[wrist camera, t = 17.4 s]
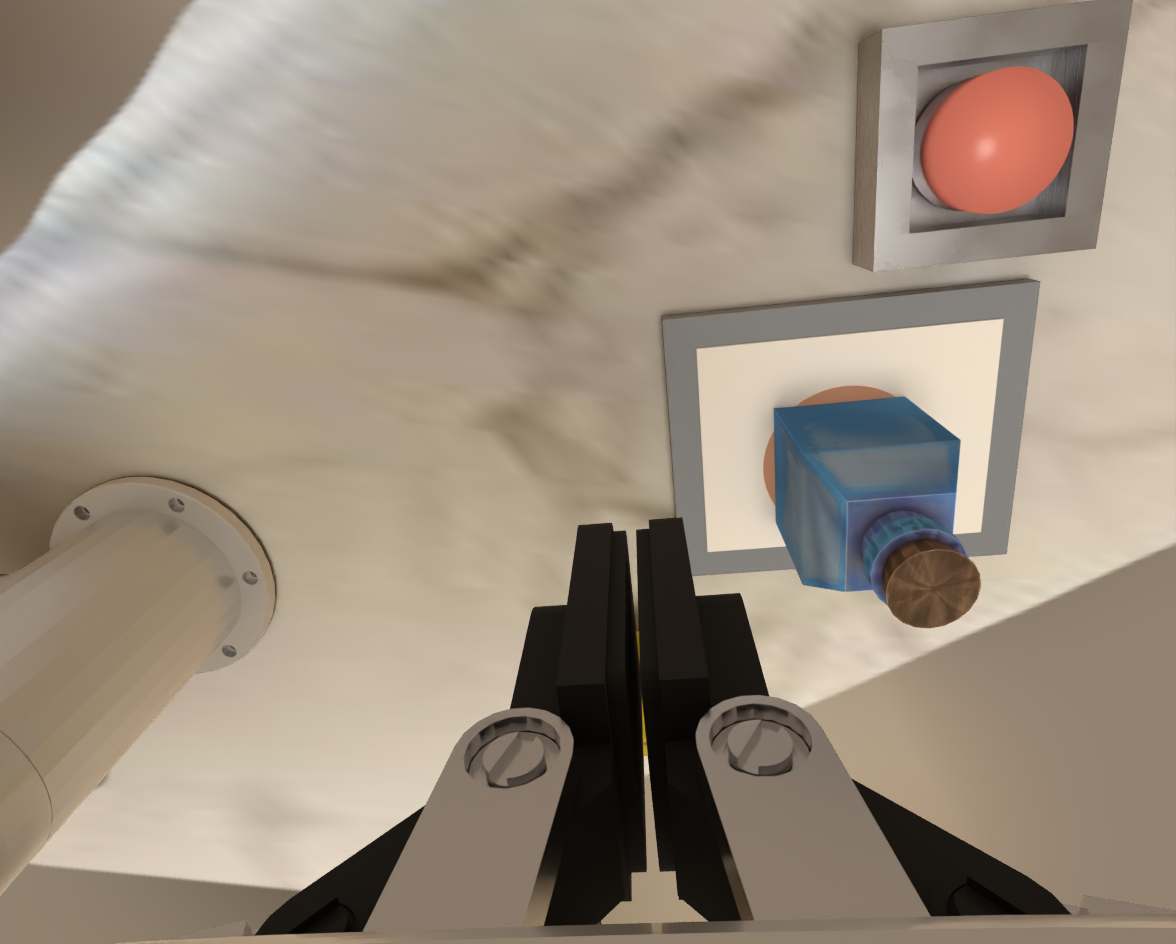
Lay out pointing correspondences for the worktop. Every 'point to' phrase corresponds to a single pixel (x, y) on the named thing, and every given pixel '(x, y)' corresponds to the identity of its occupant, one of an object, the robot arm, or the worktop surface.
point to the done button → (992, 141)
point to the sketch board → (841, 374)
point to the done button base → (954, 53)
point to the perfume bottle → (874, 505)
